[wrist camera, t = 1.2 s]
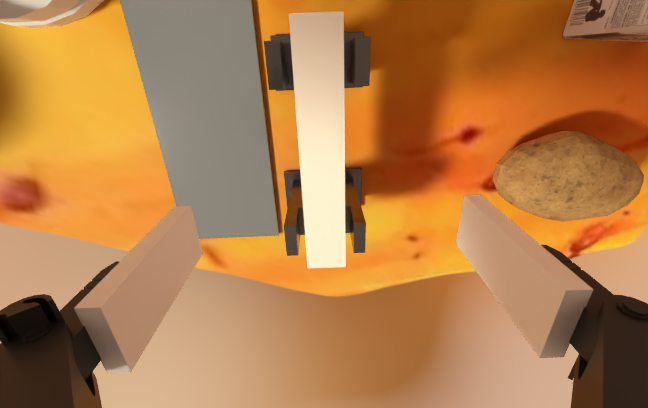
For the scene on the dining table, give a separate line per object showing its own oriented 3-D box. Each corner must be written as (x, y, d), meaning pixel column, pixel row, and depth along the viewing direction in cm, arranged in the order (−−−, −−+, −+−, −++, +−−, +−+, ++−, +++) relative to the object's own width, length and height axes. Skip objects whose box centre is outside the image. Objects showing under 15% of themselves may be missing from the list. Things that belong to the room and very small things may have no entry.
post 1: (276, 90, 32) (256, 105, 22) (271, 36, 30) (246, 24, 20) (361, 86, 32) (383, 100, 22) (362, 32, 30) (386, 18, 19)
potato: (492, 114, 34) (539, 129, 26) (608, 132, 35) (685, 151, 27) (462, 194, 38) (496, 226, 30) (567, 208, 39) (624, 242, 32)
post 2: (288, 208, 38) (277, 265, 28) (284, 171, 36) (270, 216, 26) (359, 205, 38) (375, 261, 28) (360, 167, 36) (377, 212, 26)
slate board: (187, 237, 40) (185, 239, 39) (122, -1, 28) (119, -2, 28) (279, 233, 40) (278, 235, 39) (251, -6, 28) (250, -8, 28)
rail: (308, 247, 31) (307, 268, 28) (292, 19, 22) (288, 13, 19) (342, 245, 31) (345, 266, 28) (340, 17, 22) (343, 10, 19)
